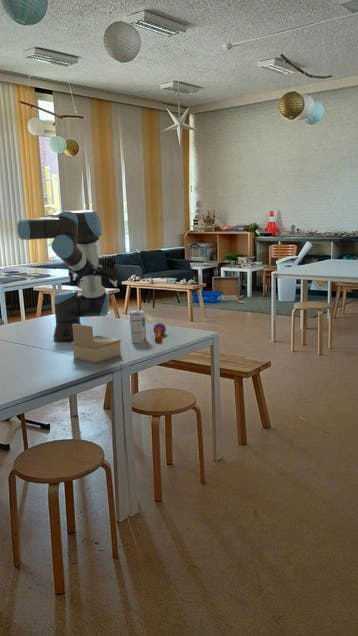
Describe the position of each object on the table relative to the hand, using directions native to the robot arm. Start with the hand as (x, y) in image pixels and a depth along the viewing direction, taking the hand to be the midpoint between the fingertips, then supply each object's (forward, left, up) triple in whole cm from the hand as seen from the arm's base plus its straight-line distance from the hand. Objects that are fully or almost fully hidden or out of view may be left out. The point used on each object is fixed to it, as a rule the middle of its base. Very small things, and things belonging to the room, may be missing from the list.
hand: (100, 286), depth 238 cm
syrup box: (-6, +26, -30) cm, 40 cm away
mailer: (-1, -4, -30) cm, 30 cm away
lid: (-1, -4, -23) cm, 24 cm away
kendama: (-3, +37, -30) cm, 48 cm away
